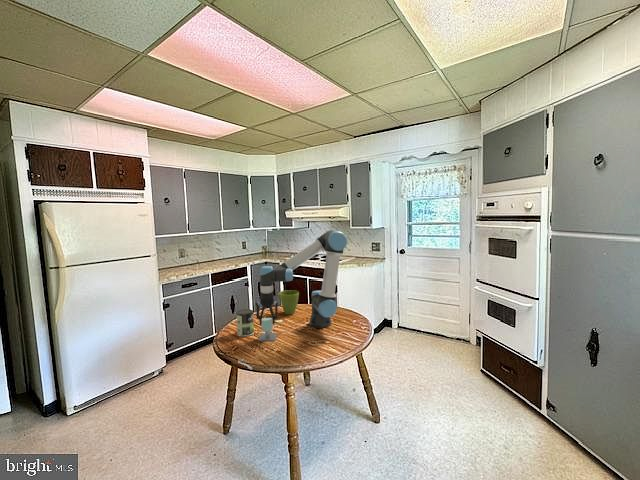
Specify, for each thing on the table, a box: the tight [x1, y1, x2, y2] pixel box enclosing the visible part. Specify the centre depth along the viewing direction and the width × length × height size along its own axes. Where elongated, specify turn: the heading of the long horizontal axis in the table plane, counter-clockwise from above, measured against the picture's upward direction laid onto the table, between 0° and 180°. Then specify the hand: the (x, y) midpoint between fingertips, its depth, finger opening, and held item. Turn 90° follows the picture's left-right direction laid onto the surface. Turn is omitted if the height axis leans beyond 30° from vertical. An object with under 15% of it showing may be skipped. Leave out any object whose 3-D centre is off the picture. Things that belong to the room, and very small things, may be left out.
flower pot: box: [278, 289, 300, 315], centre depth 228 cm, size 15×15×16 cm
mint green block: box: [261, 317, 273, 333], centre depth 181 cm, size 5×5×7 cm
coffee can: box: [235, 308, 255, 337], centre depth 188 cm, size 10×10×14 cm
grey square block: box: [257, 332, 278, 342], centre depth 182 cm, size 10×10×8 cm
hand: (267, 329), depth 181 cm, fingers closed on mint green block, 5 cm apart
